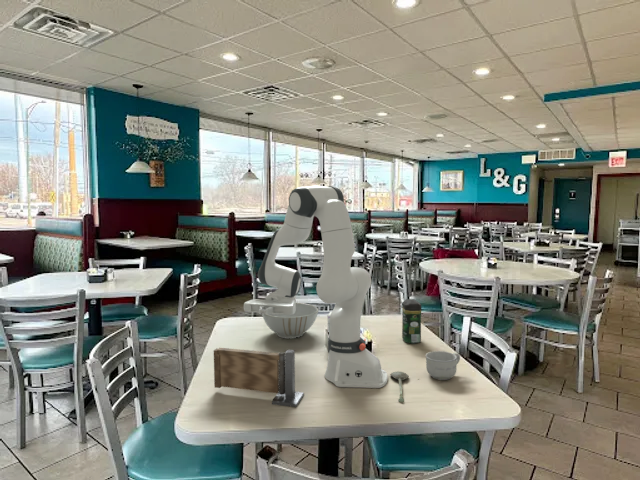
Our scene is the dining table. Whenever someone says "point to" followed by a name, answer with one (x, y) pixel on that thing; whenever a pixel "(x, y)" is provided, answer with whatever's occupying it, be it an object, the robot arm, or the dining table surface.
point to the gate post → (289, 384)
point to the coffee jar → (411, 321)
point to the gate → (249, 370)
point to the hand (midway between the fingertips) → (262, 312)
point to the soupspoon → (400, 377)
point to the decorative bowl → (292, 321)
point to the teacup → (442, 364)
